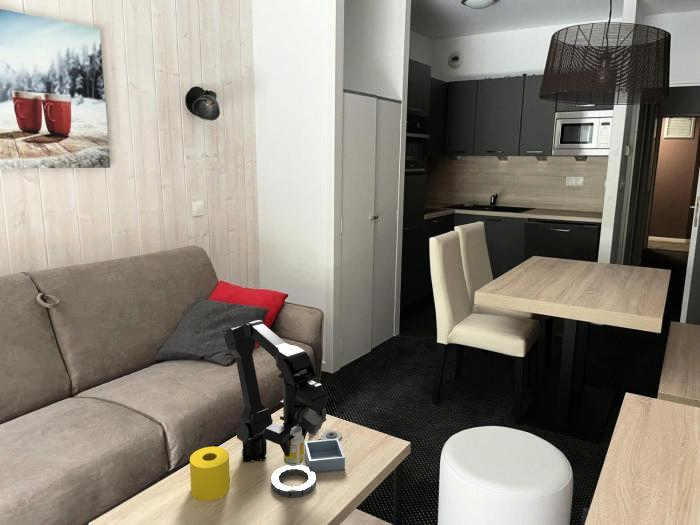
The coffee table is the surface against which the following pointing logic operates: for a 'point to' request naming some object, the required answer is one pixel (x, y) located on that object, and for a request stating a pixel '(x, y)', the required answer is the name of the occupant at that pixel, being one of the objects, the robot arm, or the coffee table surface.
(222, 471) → the yellow paper roll
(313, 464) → the bin
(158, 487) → the coffee table surface
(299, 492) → the socket ring
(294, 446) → the supplement bottle
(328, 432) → the bracket
